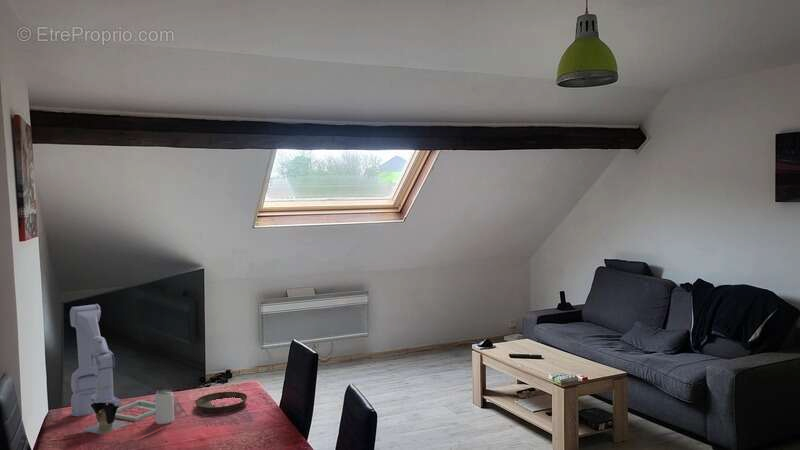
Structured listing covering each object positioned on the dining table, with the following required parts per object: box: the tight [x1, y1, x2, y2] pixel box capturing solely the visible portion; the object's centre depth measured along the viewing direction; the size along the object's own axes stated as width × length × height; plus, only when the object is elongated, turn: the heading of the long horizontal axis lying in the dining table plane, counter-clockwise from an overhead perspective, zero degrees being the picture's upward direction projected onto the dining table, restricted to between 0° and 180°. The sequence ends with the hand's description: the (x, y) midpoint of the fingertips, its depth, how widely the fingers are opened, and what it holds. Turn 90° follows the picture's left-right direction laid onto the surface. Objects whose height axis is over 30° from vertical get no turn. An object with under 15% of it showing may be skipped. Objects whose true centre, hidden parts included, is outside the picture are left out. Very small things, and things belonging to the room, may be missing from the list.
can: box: [154, 388, 175, 426], centre depth 226 cm, size 6×6×12 cm
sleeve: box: [95, 409, 113, 429], centre depth 221 cm, size 4×6×6 cm
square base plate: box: [80, 419, 132, 436], centre depth 221 cm, size 12×12×6 cm
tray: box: [114, 399, 156, 422], centre depth 237 cm, size 16×16×2 cm
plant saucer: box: [194, 391, 248, 413], centre depth 244 cm, size 21×21×3 cm
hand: (105, 422), depth 221 cm, fingers closed on sleeve, 4 cm apart
